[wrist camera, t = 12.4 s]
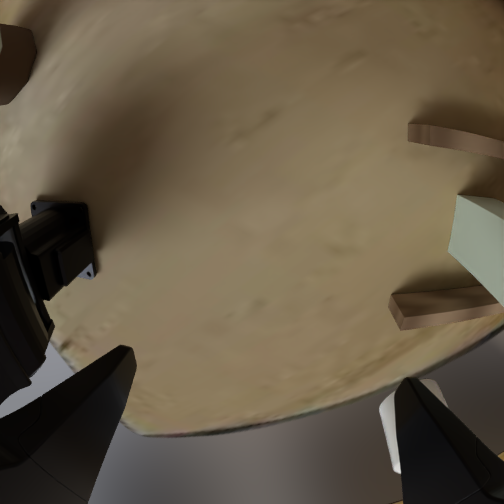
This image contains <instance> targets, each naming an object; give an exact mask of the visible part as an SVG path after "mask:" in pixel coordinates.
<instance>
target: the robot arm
mask: <svg viewBox="0 0 504 504" xmlns="http://www.w3.org/2000/svg"><path fill="white" fill-rule="evenodd" d="M35 206H36V207H35ZM80 207H81V208H82V211H81V209H80ZM31 213H32V217H31V218H29V219H28V220H26V221H24V222H22V223H21V224H19V223H18V222H19V217H18V213H15V214H7V212H6V211H5V210H4V209H3V208H2V206H1V205H0V405H1V403H2V402H3V401H4V400H5V399H7V398H8V397H9V396H10V395H11V394H13V393H15V392H16V391H18V390H20V389H22V388H25V387H28V386H30V385H31V383H32V382H31V380H30V379H29V378H30V377H32V376H33V375H34V374H35V373H36V372H37V370H38V369H39V368H40V367H41V366H42V364H43V363H44V361H45V360H46V355H45V351H46V349H47V346H48V343H49V341H50V338H51V335H52V333H53V330H54V328H55V325H54V323H53V320H52V319H51V318H50V316H49V314H48V311H47V309H46V307H45V304H44V302H43V301H44V300H47V301H50V300H51V299H52V298H53V297H54V296H55V295H56V294H57V293H58V292H59V291H60V290H61V289H62V288H63V287H64V286H68V285H69V284H70V283H71V282H72V281H73V280H74V279H75V278H76V277H80V278H85V279H93V278H94V277H95V276H96V269H95V263H94V255H93V248H92V241H91V233H90V227H89V217H88V208H87V205H86V204H85V203H83V202H67V201H43V200H36V201H33V202H32V203H31ZM89 272H90V273H91V274H90V273H89ZM136 368H137V364H136V359H135V355H134V351H133V349H132V347H129V346H125V345H119V346H117V347H116V348H114V349H113V350H111V351H110V352H108V353H107V354H105V355H104V356H102V357H100V358H99V359H97V360H96V361H94V362H93V363H91V364H90V365H88V366H87V367H85V368H83V369H82V370H80V371H79V372H77V373H76V374H74V375H73V376H71V377H70V378H68V379H66V380H65V381H64V382H62V383H60V384H59V385H57V386H56V387H54V388H52V389H51V390H49V391H48V392H46V393H45V394H43V395H42V397H41V396H40V397H38V398H37V399H35V400H34V401H32V402H30V403H29V404H27V405H25V406H24V407H22V408H20V409H18V410H16V411H15V412H13V413H11V414H9V415H6V416H5V417H3V418H0V504H88V501H89V498H90V496H91V493H92V490H93V487H94V485H95V482H96V479H97V476H98V474H99V471H100V468H101V466H102V463H103V461H104V458H105V455H106V453H107V450H108V448H109V445H110V443H111V440H112V438H113V435H114V433H115V430H116V428H117V426H118V423H119V421H120V419H121V416H122V414H123V411H124V409H125V406H126V403H127V399H128V396H129V392H130V389H131V385H132V382H133V379H134V376H135V372H136ZM394 407H395V426H396V438H397V446H398V453H399V461H400V470H401V480H402V492H403V504H504V461H503V460H502V459H500V458H499V457H498V456H497V455H496V454H494V453H493V452H492V451H491V450H490V449H489V448H488V447H487V446H486V445H485V444H484V443H482V442H481V440H480V439H479V438H478V437H476V435H475V434H473V432H472V431H471V430H469V428H468V427H467V426H466V425H465V424H464V423H463V422H462V421H461V420H460V419H459V418H458V417H457V416H456V415H455V414H454V413H453V412H452V411H450V409H449V408H448V407H446V406H445V405H444V404H443V403H442V402H441V401H440V400H439V399H438V398H437V397H436V396H435V395H434V394H433V393H432V392H431V391H430V390H429V389H428V388H427V387H426V386H425V385H424V384H423V383H422V382H421V381H420V380H419V379H418V378H416V377H406V378H404V379H403V381H402V382H401V384H400V385H399V387H398V388H397V390H396V391H395V394H394Z"/></svg>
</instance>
